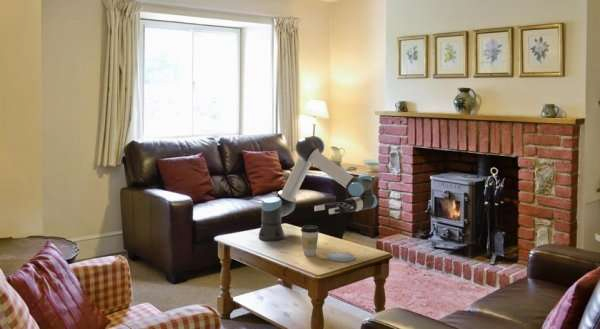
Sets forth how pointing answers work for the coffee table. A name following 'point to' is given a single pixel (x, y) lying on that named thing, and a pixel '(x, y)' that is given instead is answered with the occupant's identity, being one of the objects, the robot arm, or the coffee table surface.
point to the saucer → (340, 257)
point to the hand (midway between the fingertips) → (321, 210)
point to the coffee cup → (309, 239)
